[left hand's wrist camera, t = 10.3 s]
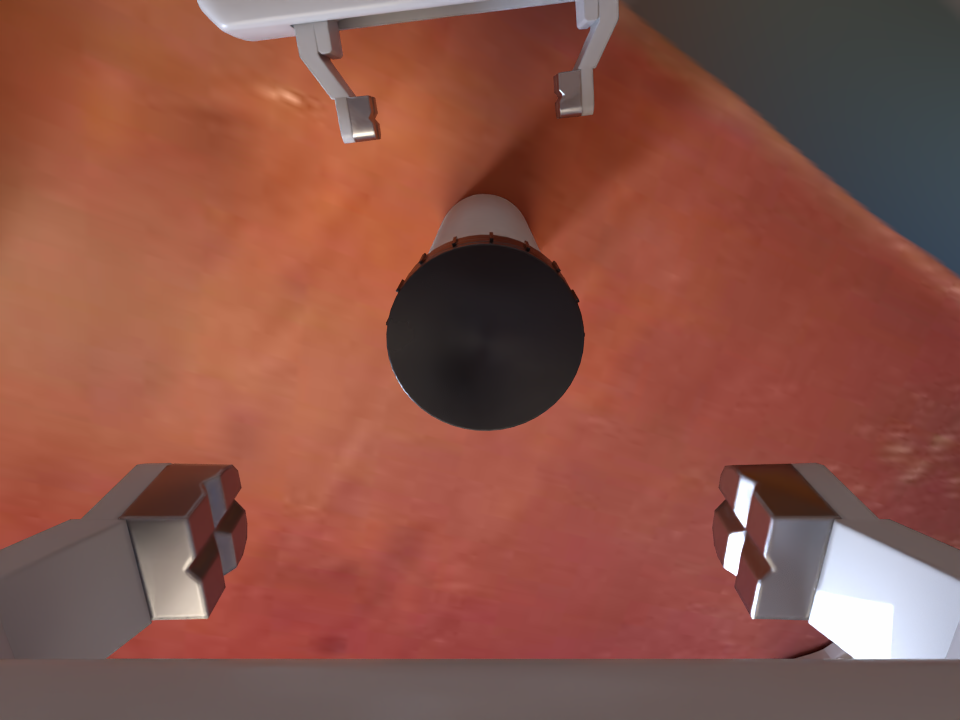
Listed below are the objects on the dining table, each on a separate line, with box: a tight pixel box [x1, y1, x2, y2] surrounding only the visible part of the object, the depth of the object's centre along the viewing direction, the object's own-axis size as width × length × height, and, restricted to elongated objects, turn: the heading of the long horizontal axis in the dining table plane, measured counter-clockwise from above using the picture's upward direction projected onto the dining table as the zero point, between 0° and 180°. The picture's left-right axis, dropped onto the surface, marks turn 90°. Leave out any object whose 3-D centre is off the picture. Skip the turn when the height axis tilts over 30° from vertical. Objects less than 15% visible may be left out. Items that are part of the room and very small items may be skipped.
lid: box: [386, 232, 585, 431], centre depth 18 cm, size 6×6×2 cm
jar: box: [428, 194, 540, 254], centre depth 26 cm, size 5×5×17 cm
